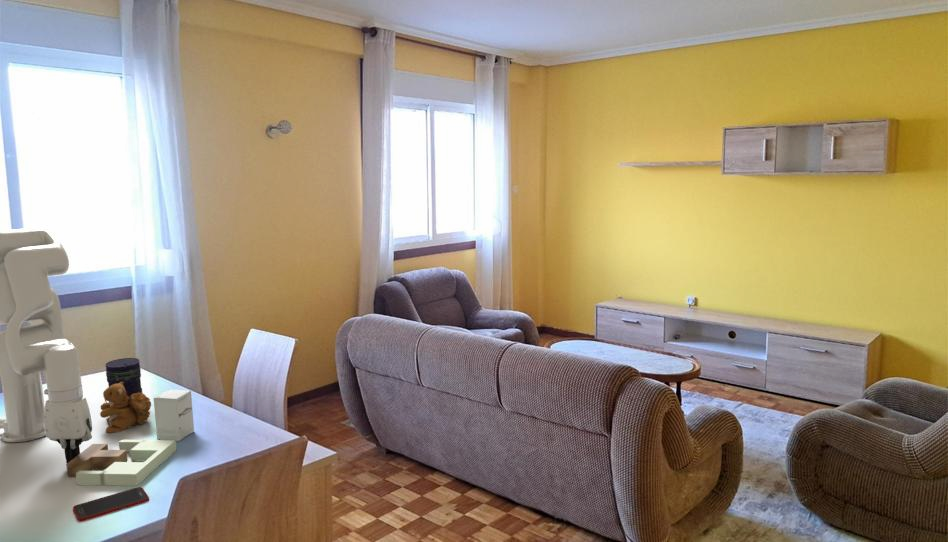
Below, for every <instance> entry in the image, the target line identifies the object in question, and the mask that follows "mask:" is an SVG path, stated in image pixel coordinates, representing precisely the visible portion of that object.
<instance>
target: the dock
mask: <svg viewBox="0 0 948 542" xmlns="http://www.w3.org/2000/svg"><path fill="white" fill-rule="evenodd" d="M176 442H177V441H175V440H159V439H121V440H119V441H118V445H119V447H118V450H126V451H127V453H129V454H130V461H128V462H114V463H113V464H112V465H110V466H109V467H108V468H107V469H103V470H92V471H79V472H77V473H76V477H75V479H76V485H77V486H120V487H121V486H127V487H129V486H134V487H137V486H139V484H140V483H142V482H143V481H144V480H145V479H146V478H147V477H148V476H150V475H151V474H152V473H153V472H154V471H155V470H157V469H158V467H159V465H160V464H161V463H162V462H163V463H164V462H165V461H167V460H168V459H169V458H170V457H171V456H172V455H173V454H174V453H176V451H177V443H176ZM169 456H170V457H169ZM168 457H169V458H168ZM131 460H146V461H131ZM164 460H165V461H164ZM163 463H162V464H163ZM162 464H161V465H162ZM161 465H160V466H161ZM150 473H151V474H150Z"/></svg>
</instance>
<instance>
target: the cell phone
mask: <svg viewBox="0 0 948 542" xmlns="http://www.w3.org/2000/svg"><path fill="white" fill-rule="evenodd" d="M148 501H150V498H149V495H148V494H147V492H146V491H145V490H144V489H143V487H141V486H139V487H137V486H136V487H133V488H130V489H127V490H123V491H121V492H116V493H113V494H109V495H106V496H103V497H99V498H96V499H92V500H90V501H89V500H88V501H85V502H82V503H78V504H76V505H73V507H72V511H73V514H74V515H75V518H76V520H77V521H78V522H83V521H87V520H92V519H95V518H97V517H101V516H104V515H107V514H110V513H113V512H117V511H120V510H123V509H126V508H130V507H133V506H136V505H137V506H138V505H141V504H144V503H147V502H148Z"/></svg>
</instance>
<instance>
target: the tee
mask: <svg viewBox="0 0 948 542" xmlns="http://www.w3.org/2000/svg"><path fill="white" fill-rule="evenodd" d="M127 453H128V452H127V451H126V450H119V449H109V444H108V443H92V444H91V445H89V446H88V447H87V448H85V449H84V450H83V451H80V454H79V455H78V456H76V457H75V458H74V459H72V460H71V461H70V462H68V463H66V464H65V465H66V471H67V472H66V473H67V478H76V473H77V472H79V471H91V470H92V469H97V470H105V469H107V468H108V467H109V466H110V465H112V464H113V463H114V462H127V461H128V454H127ZM128 462H129V461H128ZM92 471H93V470H92Z"/></svg>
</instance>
